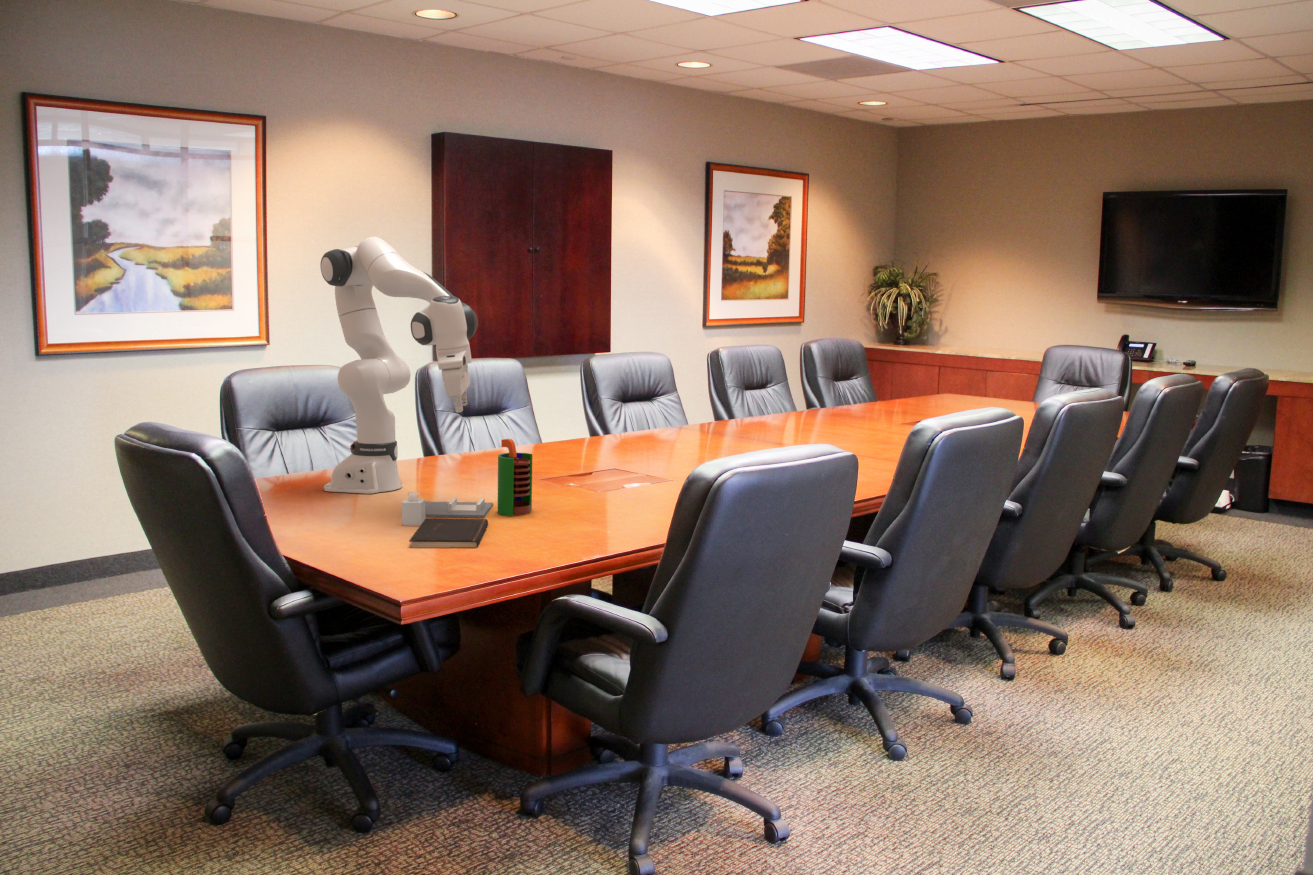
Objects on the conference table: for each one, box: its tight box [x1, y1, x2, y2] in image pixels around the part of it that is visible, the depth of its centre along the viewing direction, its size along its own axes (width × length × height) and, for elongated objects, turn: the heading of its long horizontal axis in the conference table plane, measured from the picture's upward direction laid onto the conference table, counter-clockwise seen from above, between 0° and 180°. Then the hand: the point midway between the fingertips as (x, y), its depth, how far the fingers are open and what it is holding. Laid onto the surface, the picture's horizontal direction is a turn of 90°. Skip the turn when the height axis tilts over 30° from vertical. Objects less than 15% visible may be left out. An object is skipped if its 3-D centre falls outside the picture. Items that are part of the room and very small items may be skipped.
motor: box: [497, 438, 533, 517], centre depth 288 cm, size 10×9×20 cm
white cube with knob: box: [401, 491, 427, 527], centre depth 274 cm, size 5×5×8 cm
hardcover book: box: [408, 517, 489, 549], centre depth 262 cm, size 16×23×2 cm
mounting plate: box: [425, 497, 494, 519], centre depth 289 cm, size 20×16×3 cm
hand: (461, 408), depth 284 cm, fingers open, 8 cm apart
